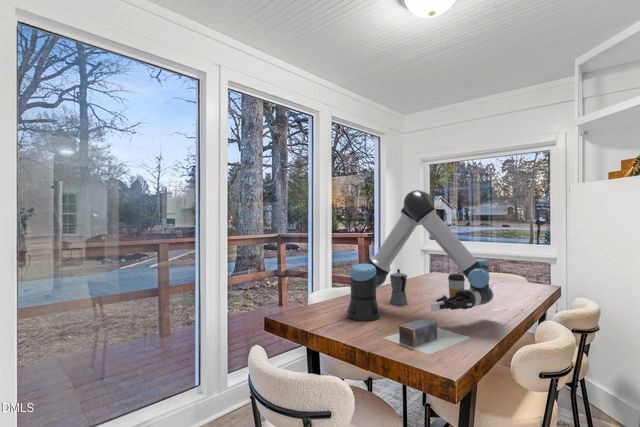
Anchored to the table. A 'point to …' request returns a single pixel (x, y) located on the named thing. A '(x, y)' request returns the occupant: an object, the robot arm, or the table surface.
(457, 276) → the coffee cup
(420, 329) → the slate block
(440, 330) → the sage mat
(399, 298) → the coffeepot
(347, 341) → the table surface
